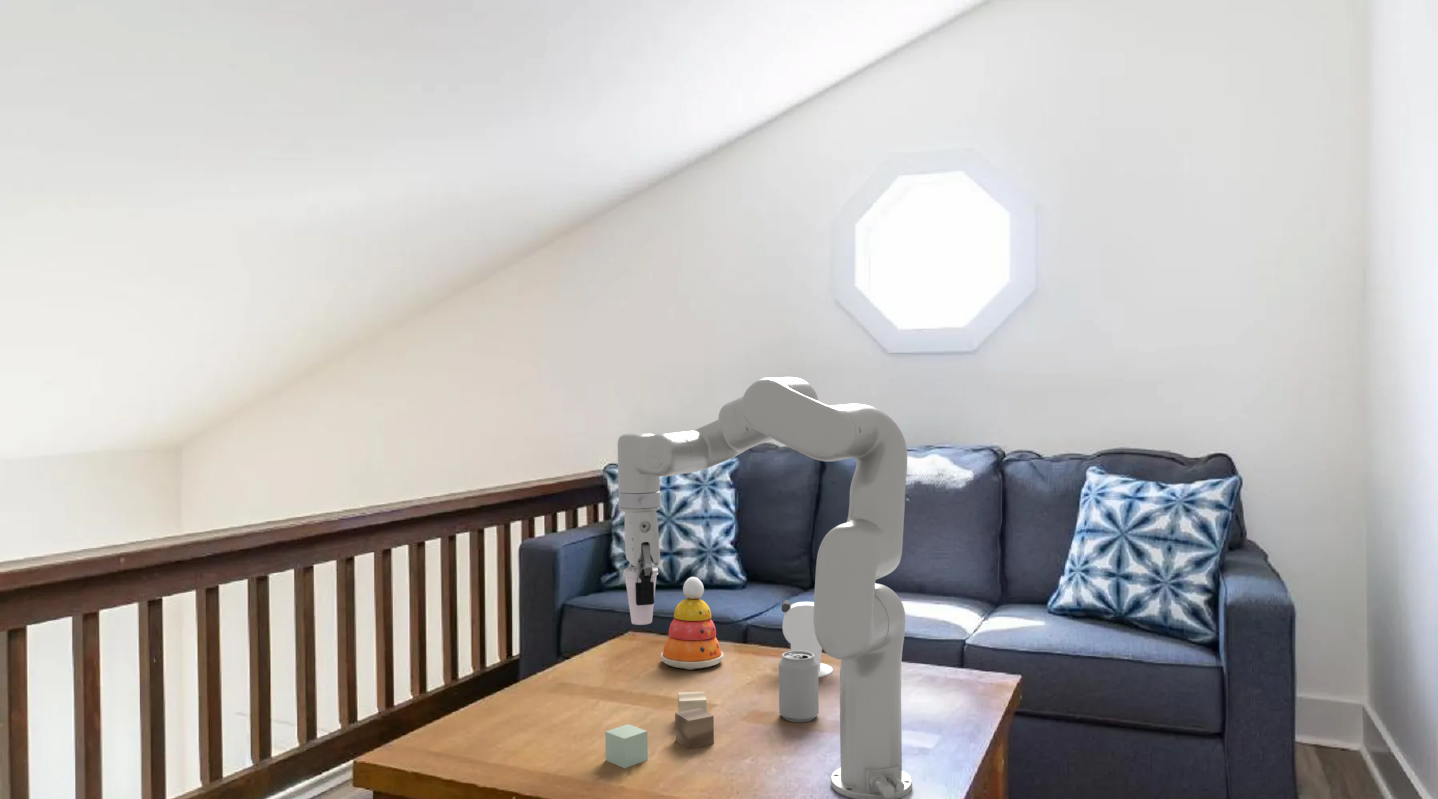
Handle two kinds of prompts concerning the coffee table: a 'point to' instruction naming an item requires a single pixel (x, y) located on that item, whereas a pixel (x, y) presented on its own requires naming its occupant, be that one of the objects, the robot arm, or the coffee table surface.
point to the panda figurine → (803, 631)
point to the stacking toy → (692, 632)
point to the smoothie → (641, 612)
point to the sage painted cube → (626, 746)
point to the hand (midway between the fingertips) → (641, 599)
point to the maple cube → (691, 701)
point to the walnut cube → (694, 728)
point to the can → (798, 686)
